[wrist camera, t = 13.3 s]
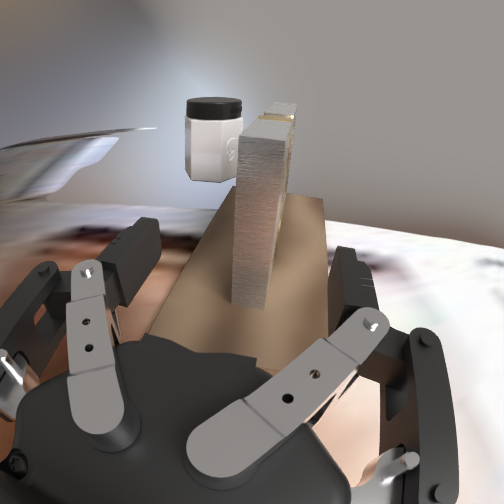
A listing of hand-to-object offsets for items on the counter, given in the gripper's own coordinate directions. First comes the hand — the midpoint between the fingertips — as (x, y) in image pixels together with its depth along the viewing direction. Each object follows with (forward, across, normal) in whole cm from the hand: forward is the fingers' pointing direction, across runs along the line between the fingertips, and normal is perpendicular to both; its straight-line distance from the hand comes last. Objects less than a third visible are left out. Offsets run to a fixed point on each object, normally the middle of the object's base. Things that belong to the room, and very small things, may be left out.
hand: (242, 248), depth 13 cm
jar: (+33, +11, +10) cm, 36 cm away
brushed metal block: (+9, 0, +8) cm, 12 cm away
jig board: (+13, 0, +9) cm, 16 cm away
